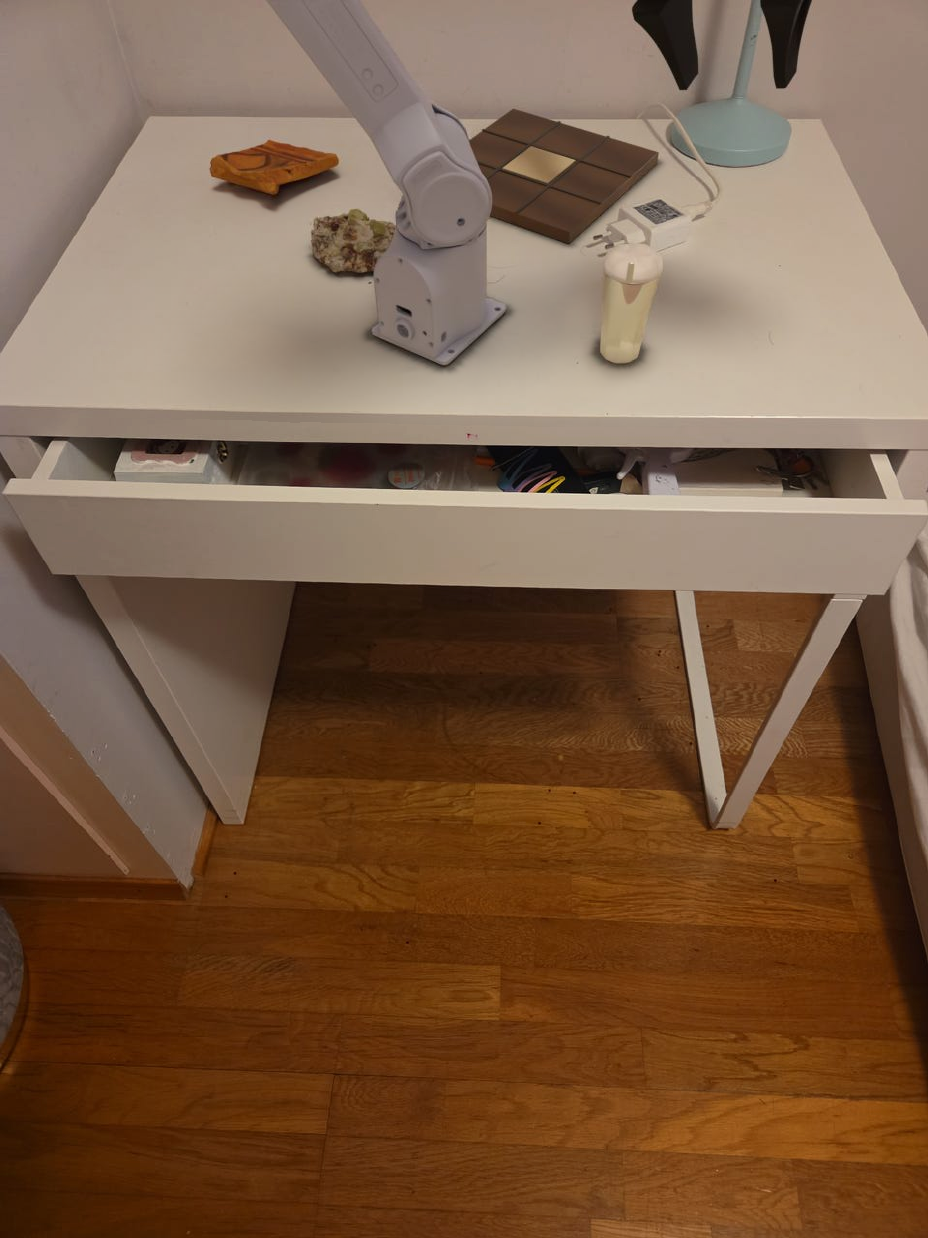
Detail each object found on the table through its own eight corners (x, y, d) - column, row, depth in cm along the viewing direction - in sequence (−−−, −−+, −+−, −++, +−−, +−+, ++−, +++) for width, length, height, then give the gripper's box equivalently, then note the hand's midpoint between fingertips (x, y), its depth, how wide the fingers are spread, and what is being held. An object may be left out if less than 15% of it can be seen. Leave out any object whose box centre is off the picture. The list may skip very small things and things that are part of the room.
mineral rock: (290, 249, 80) (319, 182, 82) (301, 283, 84) (329, 218, 86) (403, 270, 78) (429, 201, 81) (409, 304, 82) (434, 237, 85)
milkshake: (586, 371, 73) (600, 259, 65) (596, 331, 76) (610, 220, 68) (642, 378, 72) (662, 266, 64) (649, 339, 75) (670, 227, 67)
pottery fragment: (202, 159, 88) (263, 101, 92) (218, 199, 92) (275, 143, 96) (282, 188, 85) (341, 127, 89) (294, 229, 89) (350, 169, 93)
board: (568, 243, 84) (570, 230, 83) (416, 189, 90) (415, 177, 89) (657, 163, 92) (659, 150, 91) (512, 119, 98) (513, 106, 97)
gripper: (856, -192, 52) (856, 42, 63) (638, -152, 60) (671, 50, 71) (808, -123, 50) (816, 106, 61) (589, -91, 58) (630, 107, 69)
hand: (736, 80), depth 66 cm, fingers open, 7 cm apart
